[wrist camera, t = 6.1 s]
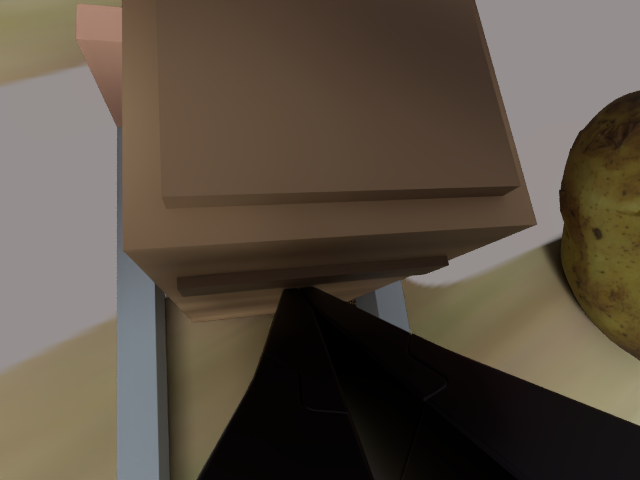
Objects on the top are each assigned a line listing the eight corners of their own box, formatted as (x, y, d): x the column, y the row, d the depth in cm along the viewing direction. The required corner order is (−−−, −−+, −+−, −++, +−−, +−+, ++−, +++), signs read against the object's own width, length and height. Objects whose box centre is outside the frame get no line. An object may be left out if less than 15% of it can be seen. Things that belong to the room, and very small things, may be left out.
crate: (334, 311, 17) (561, 229, 6) (193, 327, 16) (113, 259, 4) (314, 163, 19) (456, -128, 8) (186, 165, 18) (115, -198, 6)
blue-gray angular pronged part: (419, 541, 16) (559, 675, 9) (135, 623, 13) (48, 898, 6) (352, 135, 20) (414, 32, 14) (131, 133, 18) (77, 3, 11)
